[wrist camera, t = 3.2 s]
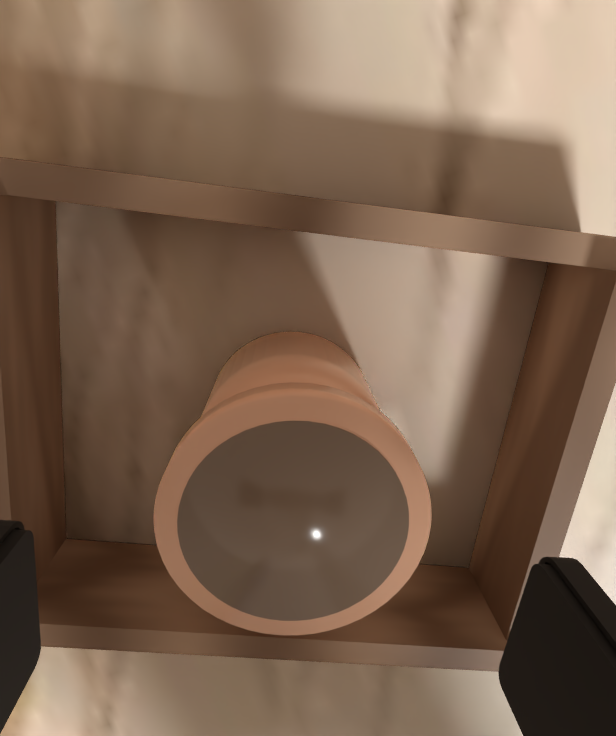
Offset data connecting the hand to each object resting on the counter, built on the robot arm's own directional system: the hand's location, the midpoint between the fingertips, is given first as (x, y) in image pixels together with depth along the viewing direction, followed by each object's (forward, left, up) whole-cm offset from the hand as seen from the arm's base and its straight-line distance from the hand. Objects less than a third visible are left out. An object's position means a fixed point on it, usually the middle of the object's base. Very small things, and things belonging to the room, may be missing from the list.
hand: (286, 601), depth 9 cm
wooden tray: (0, +1, -11) cm, 11 cm away
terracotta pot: (0, +1, -11) cm, 11 cm away
